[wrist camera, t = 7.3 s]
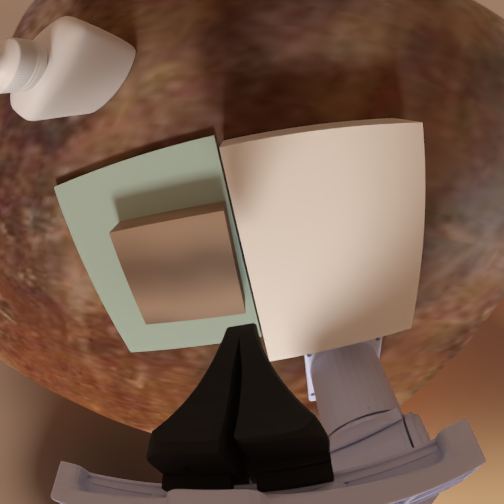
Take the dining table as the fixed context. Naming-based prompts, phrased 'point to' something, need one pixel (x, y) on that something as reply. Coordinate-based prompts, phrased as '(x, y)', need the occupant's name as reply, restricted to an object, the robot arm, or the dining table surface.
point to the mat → (139, 205)
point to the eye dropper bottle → (63, 69)
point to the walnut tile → (181, 264)
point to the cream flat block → (330, 229)
